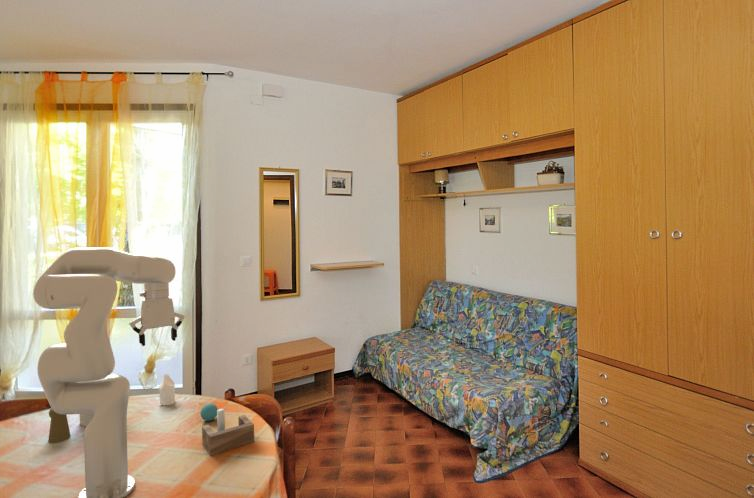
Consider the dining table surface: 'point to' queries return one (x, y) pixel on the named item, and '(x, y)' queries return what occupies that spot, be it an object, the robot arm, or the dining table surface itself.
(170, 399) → the white pointed block
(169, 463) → the dining table surface
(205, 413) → the ball
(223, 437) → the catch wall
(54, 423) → the cork
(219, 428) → the pin
